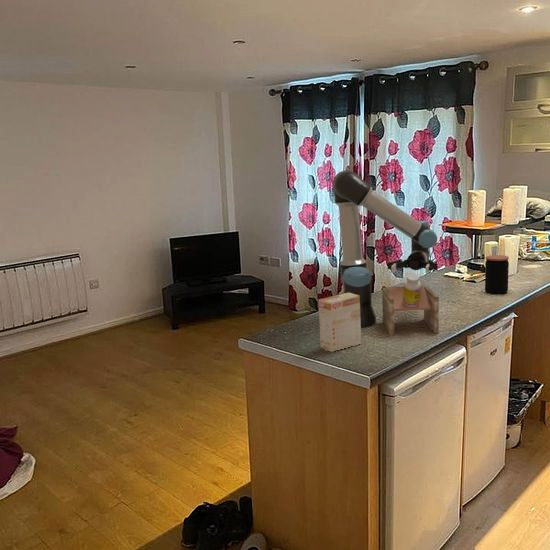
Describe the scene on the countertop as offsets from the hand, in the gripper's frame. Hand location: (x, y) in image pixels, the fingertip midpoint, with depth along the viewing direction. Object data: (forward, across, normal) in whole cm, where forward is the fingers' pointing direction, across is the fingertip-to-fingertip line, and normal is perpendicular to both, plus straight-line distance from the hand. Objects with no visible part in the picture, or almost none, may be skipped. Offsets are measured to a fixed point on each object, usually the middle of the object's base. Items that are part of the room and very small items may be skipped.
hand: (409, 270), depth 218 cm
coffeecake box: (+23, +22, -26) cm, 41 cm away
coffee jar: (-71, -32, -26) cm, 82 cm away
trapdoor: (-8, +2, -14) cm, 16 cm away
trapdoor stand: (-6, +1, -26) cm, 26 cm away
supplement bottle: (-4, 0, -14) cm, 15 cm away
